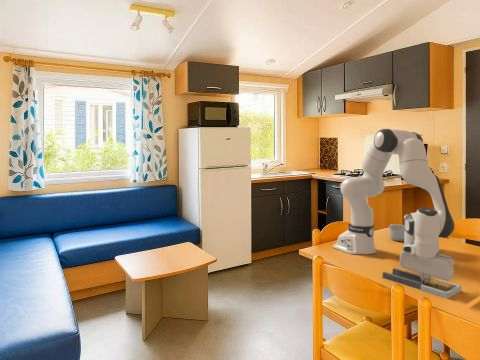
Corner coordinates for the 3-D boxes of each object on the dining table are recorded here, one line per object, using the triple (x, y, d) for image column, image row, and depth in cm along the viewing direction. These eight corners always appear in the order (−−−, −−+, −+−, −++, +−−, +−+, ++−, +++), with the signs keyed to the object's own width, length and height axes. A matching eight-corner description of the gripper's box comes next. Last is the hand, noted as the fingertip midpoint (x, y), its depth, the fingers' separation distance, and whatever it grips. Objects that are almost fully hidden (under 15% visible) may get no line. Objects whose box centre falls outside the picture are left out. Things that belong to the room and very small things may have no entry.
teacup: (412, 242, 216) (412, 228, 215) (392, 242, 216) (392, 228, 215) (402, 236, 230) (402, 222, 229) (383, 236, 230) (383, 223, 229)
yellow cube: (436, 292, 147) (436, 283, 147) (441, 289, 149) (442, 281, 149) (446, 295, 144) (447, 286, 143) (452, 293, 146) (452, 284, 146)
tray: (420, 292, 148) (420, 285, 148) (434, 285, 155) (435, 278, 155) (447, 301, 140) (447, 293, 140) (461, 293, 147) (461, 285, 147)
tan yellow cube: (424, 287, 150) (425, 279, 150) (429, 285, 153) (431, 277, 152) (434, 292, 147) (436, 283, 147) (439, 289, 150) (441, 281, 149)
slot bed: (381, 279, 162) (381, 272, 162) (395, 274, 168) (395, 267, 168) (421, 292, 149) (421, 284, 148) (434, 285, 155) (434, 278, 154)
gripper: (457, 254, 144) (456, 290, 146) (406, 243, 160) (405, 275, 162) (449, 258, 140) (448, 294, 142) (397, 245, 157) (396, 278, 158)
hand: (424, 284), depth 152 cm, fingers closed
